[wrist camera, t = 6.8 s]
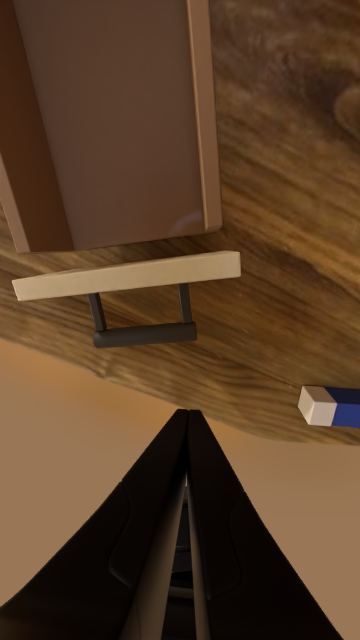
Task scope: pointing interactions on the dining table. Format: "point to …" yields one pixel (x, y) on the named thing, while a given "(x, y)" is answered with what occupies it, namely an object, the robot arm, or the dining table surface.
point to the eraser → (330, 406)
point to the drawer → (111, 146)
